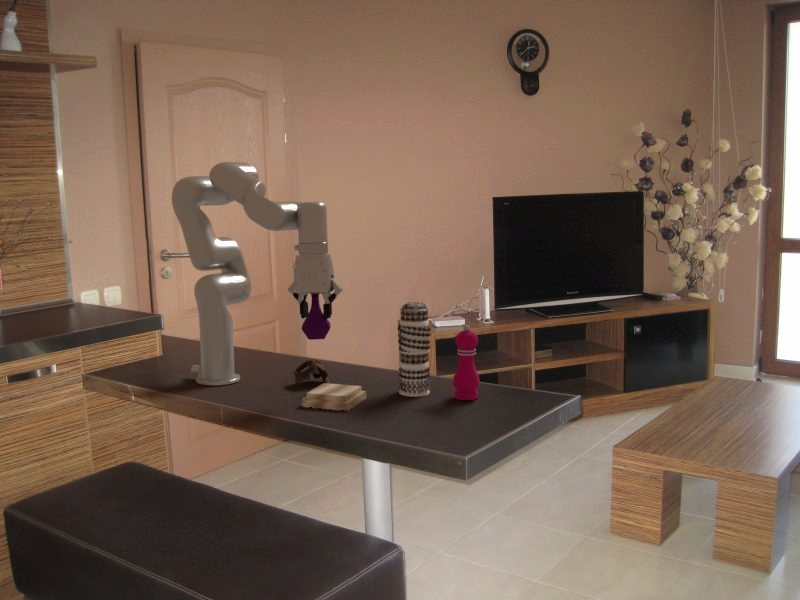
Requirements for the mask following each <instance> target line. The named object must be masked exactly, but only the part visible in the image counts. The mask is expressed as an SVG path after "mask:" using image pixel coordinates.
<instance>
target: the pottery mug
mask: <svg viewBox="0 0 800 600" xmlns="http://www.w3.org/2000/svg"><path fill="white" fill-rule="evenodd" d="M304 369H305V370H304ZM292 374H293V375H294V376H295V377H294V383H295V384H296V385H299V383H301V382H304V381H305V380H306V381H307V380H308V381H311V375H312V376H313V379H320V378H321V379H322V382H323V383H329V384H331V381H330V377H329V375H328V371H327V370H326V368H325V367H324V366H323V365H322V363H321V362H320V361H319V360H317V359H307V360H305V361H304V362H301V364H299V365H298V366H297V367H296V368H295V370H294V371H293V373H292Z"/></svg>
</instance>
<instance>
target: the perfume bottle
mask: <svg viewBox="0 0 800 600" xmlns="http://www.w3.org/2000/svg"><path fill="white" fill-rule="evenodd" d="M309 295H310V296H311V306H310V309H309V311H308V316H307V317H306V318H304V321H303V323H302V325H301V330H302V332H303V334H304V335H305V337H306V338H307V339H308V340H310V341H311V340H313V341H315V340H325V339H326V337H327V335H328V333H329V331H330V329H331V322H330V320H329V318H328V319H324V312H323V311H322V308H321V305H320V294H315V293H309Z"/></svg>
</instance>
